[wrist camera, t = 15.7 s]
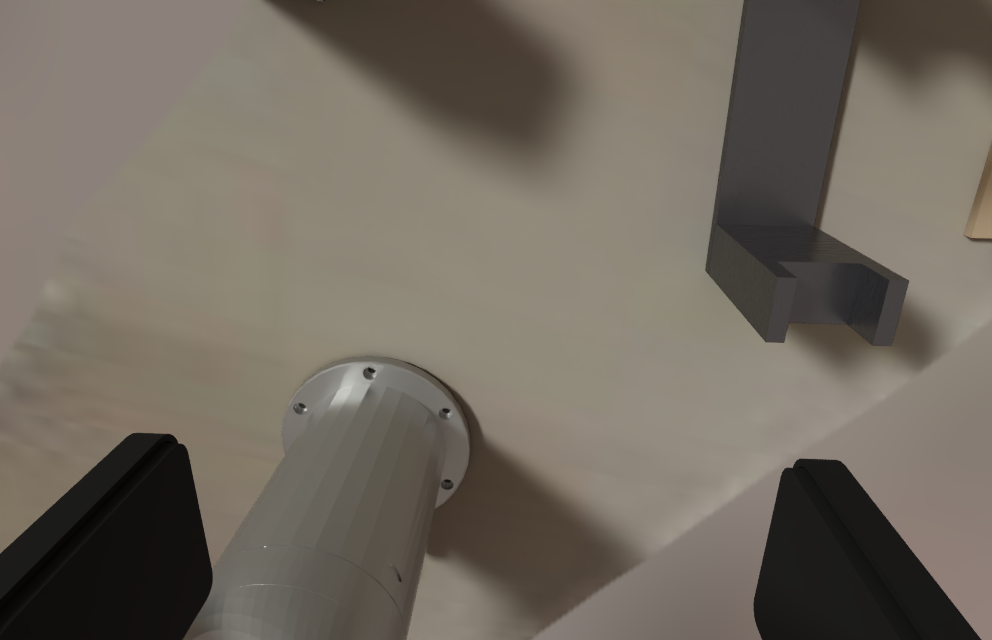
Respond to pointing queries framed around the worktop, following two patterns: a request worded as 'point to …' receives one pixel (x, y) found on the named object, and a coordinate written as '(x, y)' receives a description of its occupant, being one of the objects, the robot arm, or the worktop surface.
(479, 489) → the worktop surface
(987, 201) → the mat
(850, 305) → the rack
